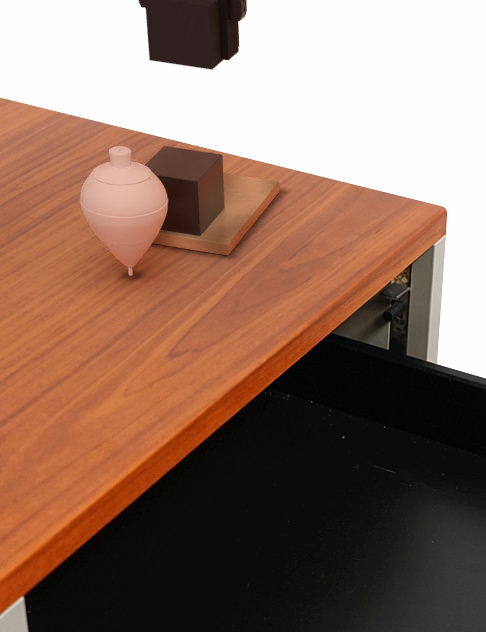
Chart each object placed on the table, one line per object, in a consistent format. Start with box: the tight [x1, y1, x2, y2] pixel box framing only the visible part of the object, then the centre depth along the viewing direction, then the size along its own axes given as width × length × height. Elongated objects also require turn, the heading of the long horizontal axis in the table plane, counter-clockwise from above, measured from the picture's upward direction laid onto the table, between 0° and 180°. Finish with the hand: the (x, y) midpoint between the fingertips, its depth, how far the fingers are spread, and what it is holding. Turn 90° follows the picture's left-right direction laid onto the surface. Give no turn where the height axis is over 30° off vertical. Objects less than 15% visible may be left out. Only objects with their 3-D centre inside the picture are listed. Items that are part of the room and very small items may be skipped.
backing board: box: [144, 145, 280, 256], centre depth 138 cm, size 12×16×7 cm
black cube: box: [145, 0, 240, 70], centre depth 126 cm, size 6×7×6 cm
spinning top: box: [79, 145, 168, 277], centre depth 125 cm, size 8×8×12 cm
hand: (195, 49), depth 127 cm, fingers closed on black cube, 6 cm apart
